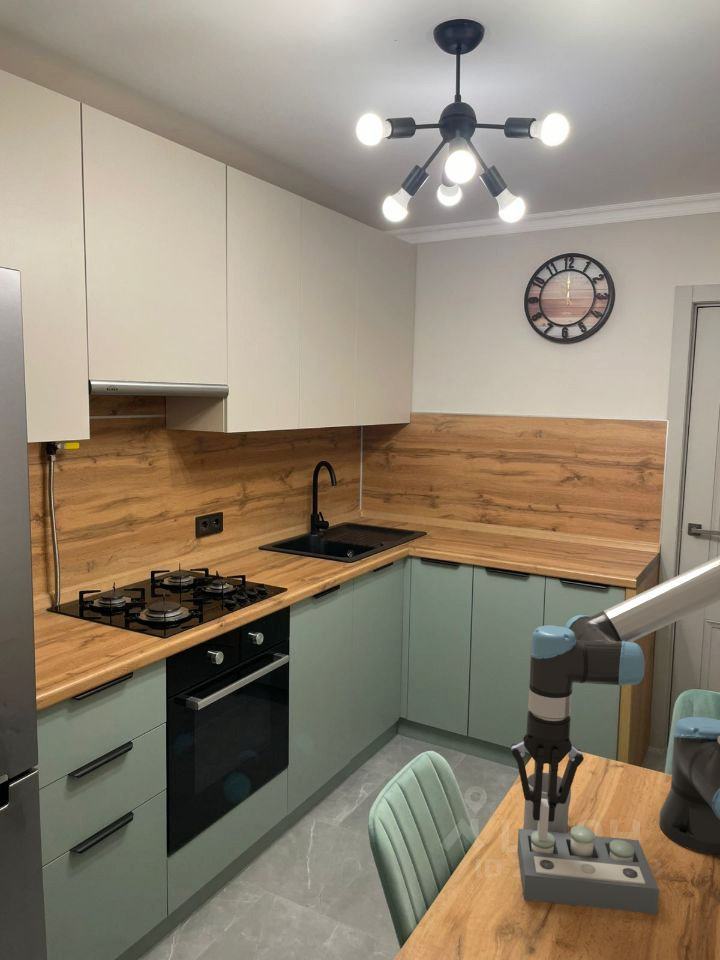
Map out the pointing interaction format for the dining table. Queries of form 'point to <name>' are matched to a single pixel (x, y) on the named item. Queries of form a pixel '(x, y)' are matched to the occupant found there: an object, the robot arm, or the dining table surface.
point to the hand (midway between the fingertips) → (542, 836)
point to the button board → (582, 888)
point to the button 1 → (542, 843)
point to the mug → (560, 811)
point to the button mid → (582, 841)
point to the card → (588, 870)
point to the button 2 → (621, 850)
